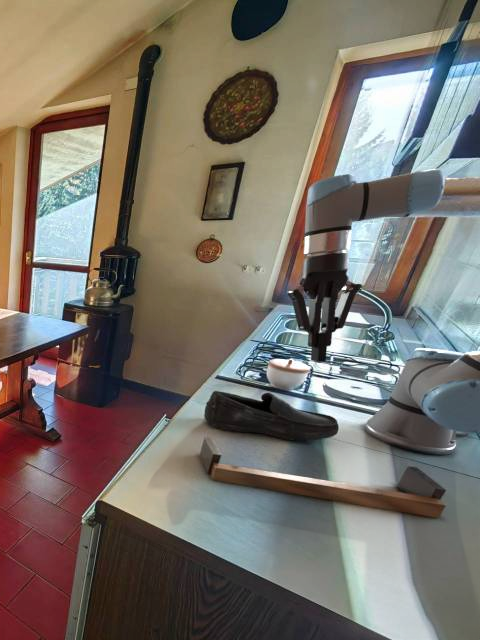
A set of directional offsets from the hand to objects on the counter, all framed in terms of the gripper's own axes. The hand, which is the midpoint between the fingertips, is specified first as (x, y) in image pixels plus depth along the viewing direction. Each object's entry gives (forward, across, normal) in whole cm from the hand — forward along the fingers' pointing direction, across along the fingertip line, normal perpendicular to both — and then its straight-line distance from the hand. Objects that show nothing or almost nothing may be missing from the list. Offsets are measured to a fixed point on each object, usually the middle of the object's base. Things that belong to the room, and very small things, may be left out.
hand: (318, 360), depth 89 cm
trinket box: (+15, -12, -42) cm, 46 cm away
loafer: (+19, +7, -6) cm, 21 cm away
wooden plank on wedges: (+23, +9, +16) cm, 29 cm away
